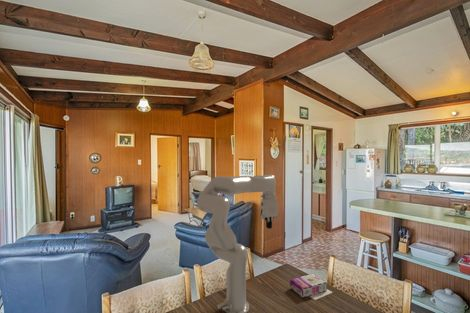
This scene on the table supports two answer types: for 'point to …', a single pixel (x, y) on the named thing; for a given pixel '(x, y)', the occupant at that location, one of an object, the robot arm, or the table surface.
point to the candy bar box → (308, 285)
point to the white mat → (320, 295)
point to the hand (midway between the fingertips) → (269, 227)
